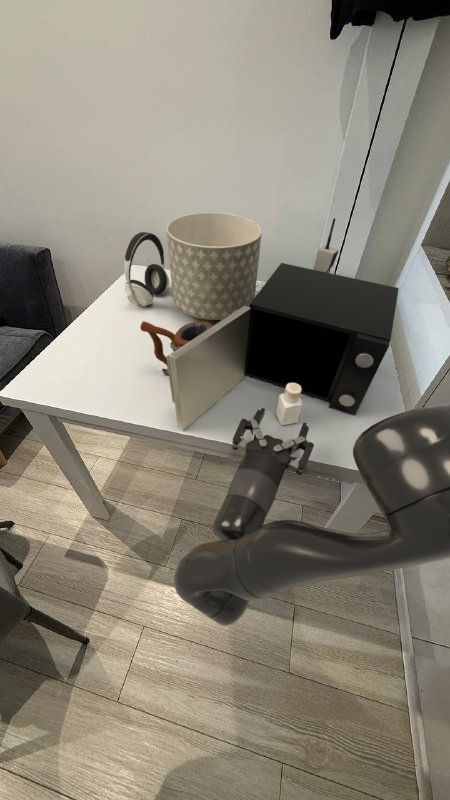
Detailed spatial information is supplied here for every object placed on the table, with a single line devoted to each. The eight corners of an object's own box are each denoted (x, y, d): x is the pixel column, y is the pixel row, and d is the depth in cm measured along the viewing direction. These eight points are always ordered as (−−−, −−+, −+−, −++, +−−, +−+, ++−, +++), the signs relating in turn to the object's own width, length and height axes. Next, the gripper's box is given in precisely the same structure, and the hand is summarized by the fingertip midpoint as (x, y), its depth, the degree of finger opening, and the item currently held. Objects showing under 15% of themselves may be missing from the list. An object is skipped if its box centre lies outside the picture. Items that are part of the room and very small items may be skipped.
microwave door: (165, 418, 71) (153, 345, 57) (226, 369, 83) (230, 298, 69) (182, 431, 69) (175, 358, 55) (243, 378, 81) (250, 308, 67)
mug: (140, 386, 78) (129, 334, 67) (157, 356, 86) (149, 306, 75) (213, 399, 76) (214, 347, 65) (224, 367, 84) (225, 316, 73)
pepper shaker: (280, 426, 71) (288, 396, 64) (274, 413, 74) (281, 382, 67) (297, 423, 72) (306, 393, 65) (291, 410, 74) (299, 379, 68)
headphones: (145, 316, 99) (133, 249, 84) (122, 310, 101) (106, 243, 87) (175, 288, 111) (170, 225, 97) (154, 283, 113) (146, 220, 99)
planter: (227, 341, 91) (230, 256, 74) (157, 314, 100) (146, 231, 83) (266, 303, 106) (277, 224, 89) (203, 282, 115) (202, 206, 98)
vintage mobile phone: (319, 305, 107) (342, 222, 88) (306, 300, 109) (325, 218, 90) (324, 300, 109) (347, 219, 91) (311, 295, 111) (331, 214, 93)
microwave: (354, 418, 73) (389, 346, 59) (239, 381, 81) (245, 309, 66) (368, 356, 89) (398, 287, 74) (270, 330, 96) (281, 262, 82)
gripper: (300, 490, 50) (323, 417, 60) (216, 456, 54) (251, 393, 64) (292, 511, 56) (314, 441, 66) (216, 480, 59) (248, 418, 70)
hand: (283, 417), depth 65 cm, fingers open, 8 cm apart
